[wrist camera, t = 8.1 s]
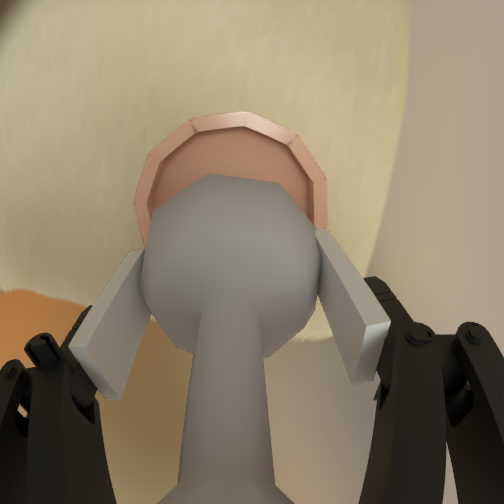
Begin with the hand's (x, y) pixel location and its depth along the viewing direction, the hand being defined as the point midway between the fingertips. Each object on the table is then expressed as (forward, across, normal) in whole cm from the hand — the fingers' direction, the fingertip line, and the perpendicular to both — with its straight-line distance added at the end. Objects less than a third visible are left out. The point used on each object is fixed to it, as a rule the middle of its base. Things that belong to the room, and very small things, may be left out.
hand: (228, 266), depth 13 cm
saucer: (+10, 0, 0) cm, 10 cm away
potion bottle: (+4, 0, 0) cm, 4 cm away
